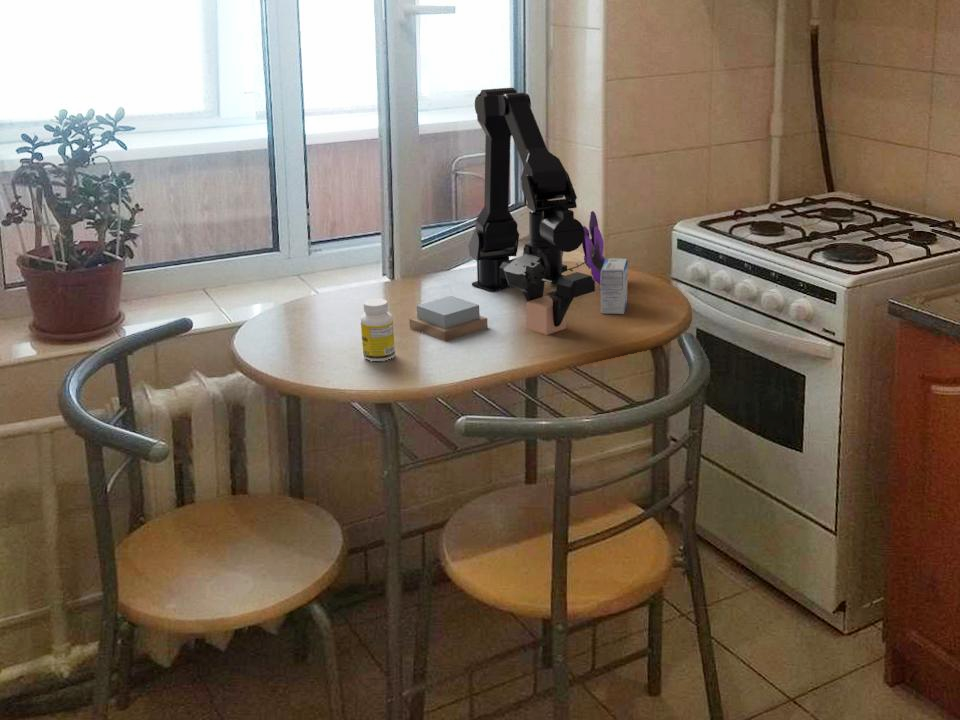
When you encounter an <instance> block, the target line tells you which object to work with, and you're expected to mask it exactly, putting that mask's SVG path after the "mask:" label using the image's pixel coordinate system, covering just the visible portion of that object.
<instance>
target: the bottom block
mask: <svg viewBox="0 0 960 720" xmlns="http://www.w3.org/2000/svg"><path fill="white" fill-rule="evenodd" d="M488 326H489V325H488V317H485V316H483V315H480V318H479V319H476V320H472V321H469V322H466V323H462V324H459V325H456V326H453V327H449V328H446V329H444V328H441V327H439V326H436V325H433V324H431V323H428V322H425V321H423V320H420V319H417V316H415V317H411V318H409V329H411V328H412V329H411V330H414V331H416V330H417V332H419V331H420V333H422V332H423V333H422V334H425V333H426V334H425V335H427V334H428V336H430V337H432V338H435V339H438V340H441V341H443V342H447V341H451V340H453V339H457V338H459V337H463V336H466V335H469V334H472V333H475V332H478V331H481V330H485V329H488Z"/></svg>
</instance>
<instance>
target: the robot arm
mask: <svg viewBox="0 0 960 720" xmlns="http://www.w3.org/2000/svg"><path fill="white" fill-rule="evenodd" d="M474 99H475V100H474V110H475V114H476V119H477V122H478V124H479V125H480V127H481V128H482V130H483V132H484V134H485V144H484V145H485V149H484V151H485V153H484V155H485V156H484V202H483V203H484V204H483V205H484V206H483V208H482V210H481V211H480V213H479V214H478V216H477V217H476V220H475V226H474V227H475V229H474V230H473V233H472V235H471V237H470V240H469V243H468V254H469V256H470V257H471V258H472V259H474V260H475V261H476V269H477V274H476V275H477V276H476V277H477V279H476V280H477V281H473V282H471V286H473V287H477V288H480V289H484V290H487V291H489V292H495V291H496V292H497V291H499V290H502V289H505V288H509V287H516V288H518V289H519V290H521V292H522V293H523V297H524V299H525V300H526V302H528V301H531V300H534V299H538V298H541V297H544V289H545V284H546V283H548V284H550V285H553V284H554V285H555V287H554V288H555V289H554V290H553V291H550V292H547V296H549V297H550V298H551V299H552V300H553V320H554V326H556V327H557V326H560V324H561V322H562V320H563V318H564V316H565V314H566V315H567V312H568V309H569V307H570V305H571V304H572V302H573V301H574V299H575V298H578V297H581V296H585V295H587V294H590V293H594V292H595V291H596V281H595V279H594V278H593V276H592V275H590V274H586V273H582V272H579V271H576V272H572V273H569V274H566V275H563V273H566V272H567V271H568V270H567V269H568V265H567V264H563V256H562V251H563V253H570V252H573V251H576V250H577V249H578V248H580V247H581V245H582V242H583V240H584V236H585V231H584V228H583V226H584V225H582V222H581V221H579V220H578V219H576V218H574V217H575V216H574V215H575V212H574V211H573V210H572V209H576V208H577V206H578V205H577V202H576V201H577V198H578V196H577V194H576V191H575V189H574V186H573V183H572V181H571V180H572V179H571V178H570V175H569V173H568V171H567V170H566V168H565V167H564V165H563V162H562V161H561V159H560V158H559V157H557V156H556V155H554V154H553V153H551V152H550V151H549V149H548V147H547V144H546V143H545V139H544V137H543V135H542V131H541V129H540V128H539V124H538V122H537V120H536V118H535V115H534V113H533V110H532V105H531V104H532V103H531V97H530V95H529V94H528V93H527V92H517V90H516V89H515V88H514V87H502V88H490V89H489V88H487V89H482V90H480V92H479V93H478V94H477V95H476V96H475V98H474ZM511 137H512V139H513V142H514V144H515V147H516V149H517V153H518V154H519V157H520V160H521V162H522V165H523V169H522V170H523V171H522V173H521V176H520V181H521V182H520V183H521V189H522V193H523V195H524V198H525V200H526V202H527V204H526V208H527V209H528V210H529V211H528V216H529V218H528V219H529V221H528V222H529V233H528V234H529V242H528V243H525V244H524V247H523V253H522V255H521V256H519V257H517V254H518V249H519V248H518V247H519V239H520V232H519V231H518V223H517V221H516V220H515V218H514V217H513V215H512V213H511V212H510V211H509V210H510V209H509V208H510V207H509V203H510V200H509V199H510V173H511V172H510V169H511V167H510V166H511V165H510V163H511ZM510 257H515V258H512V259H510ZM562 272H563V273H562Z"/></svg>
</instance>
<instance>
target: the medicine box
mask: <svg viewBox="0 0 960 720" xmlns="http://www.w3.org/2000/svg"><path fill="white" fill-rule="evenodd" d="M628 269H629V260H628V258H619V257H617V258H615V257H614V258H612V257H611V258H605V262H604V265H603V267H602V270H601V285H600V287H601V292H600V314H604V315H605V314H607V315H624V314H625V312H626V309H627V308H626V307H627V304H628V271H629V270H628Z"/></svg>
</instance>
